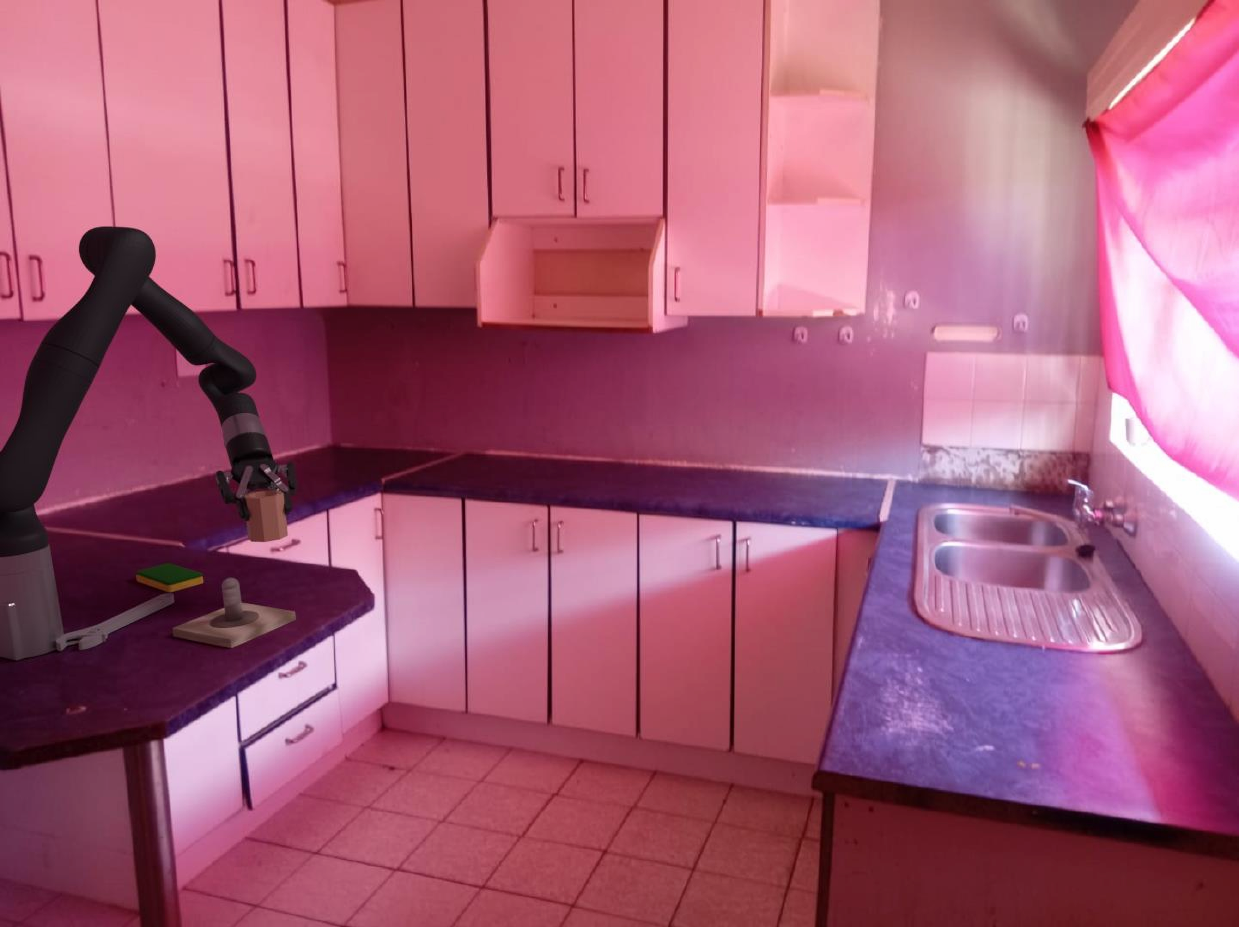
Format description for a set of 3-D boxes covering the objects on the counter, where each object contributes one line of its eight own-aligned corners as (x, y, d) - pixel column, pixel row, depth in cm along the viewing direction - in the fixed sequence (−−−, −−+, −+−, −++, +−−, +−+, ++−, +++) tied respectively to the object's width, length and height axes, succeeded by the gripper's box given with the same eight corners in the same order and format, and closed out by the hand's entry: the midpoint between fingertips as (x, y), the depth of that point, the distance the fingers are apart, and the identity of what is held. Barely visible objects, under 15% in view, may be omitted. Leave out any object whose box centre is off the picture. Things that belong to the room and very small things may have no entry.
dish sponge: (170, 573, 201) (169, 562, 201) (204, 584, 193) (203, 573, 192) (136, 582, 196) (134, 571, 195) (169, 594, 187) (168, 582, 187)
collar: (253, 543, 171) (248, 500, 169) (245, 536, 176) (241, 494, 175) (290, 537, 174) (286, 494, 173) (281, 530, 180) (277, 488, 178)
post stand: (231, 648, 157) (224, 595, 155) (173, 636, 163) (166, 585, 161) (295, 619, 169) (290, 570, 167) (239, 609, 175) (233, 562, 174)
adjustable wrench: (165, 600, 182) (164, 591, 182) (192, 604, 180) (192, 595, 180) (49, 649, 159) (48, 639, 159) (79, 654, 157) (78, 644, 157)
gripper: (206, 435, 174) (227, 510, 167) (287, 426, 182) (310, 497, 174) (204, 459, 180) (224, 533, 172) (283, 450, 187) (305, 520, 180)
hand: (267, 515), depth 173 cm, fingers closed on collar, 6 cm apart
